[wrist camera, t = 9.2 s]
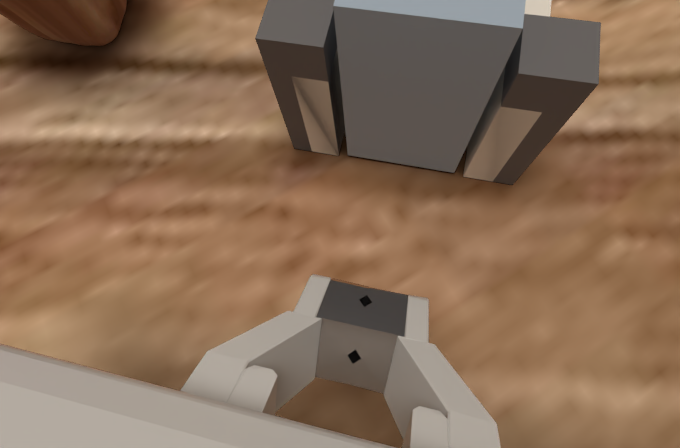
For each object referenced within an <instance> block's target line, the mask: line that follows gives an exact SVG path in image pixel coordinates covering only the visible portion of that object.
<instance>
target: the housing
mask: <svg viewBox="0 0 680 448" xmlns="http://www.w3.org/2000/svg"><path fill="white" fill-rule="evenodd" d="M334 1H335V0H268V3H267V5H266V8H265V11H264V14H263V17H262V20H261V23H260V26H259V29H258V32H257V35H256V38H255V39H256V42H257V44H258V47H259V50H260V53H261V56H262V59H263V61H264V64H265V67H266V70H267V73H268V76H269V78H270V81H271V84H272V87H273V90H274V93H275V95H276V98H277V101H278V104H279V107H280V110H281V113H282V115H283V118H284V121H285V124H286V127H287V130H288V132H289V135H290V138H291V141H292V144H293V147H294V149H300V150H306V151H312V152H318V153H324V154H330V155H336V156H339V153H340V148H341V144H342V140H343V136H344V132H345V122H344V112H343V101H342V91H341V81H340V70H339V60H338V50H337V40H336V29H335V19H334V9H333V5H334ZM550 12H551V0H526V3H525V13H524V22H523V29H522V31H521V33H520V36H519V38H518V40H517V42H516V44H515V46H514V48H513V50H512V52H511V54H510V57H509V59H508V61H507V63H506V65H505V67H504V69H503V71H502V73H501V75H500V78H499V80H498V82H497V84H496V86H495V88H494V90H493V92H492V94H491V97H490V99H489V101H488V103H487V105H486V107H485V109H484V111H483V113H482V115H481V118H480V120H479V122H478V124H477V126H476V128H475V130H474V132H473V134H472V136H471V139H470V141H469V143H468V145H467V152H466V159H465V167H464V174H463V177H468V178H474V179H480V180H486V181H492V182H498V183H504V184H510V185H513V184H514V183H515V182H516V180H517V179H518V178H519V177H520V176H521V174H522V173H523V172H524V171H525V170H526V169H527V167H528V166H529V165H530V164H531V163H532V162H533V160H534V159H535V158H536V157H537V156H538V155H539V153H540V152H541V151H542V150H543V149H544V147H545V146H546V145H547V144H548V143H549V142H550V140H551V139H552V138H553V137H554V136H555V135H556V133H557V132H558V131H559V130H560V129H561V127H562V126H563V125H564V124H565V123H566V122H567V120H568V119H569V118H570V117H571V116H572V115H573V113H574V112H575V111H576V110H577V109H578V108H579V106H580V105H581V104H582V103H583V102H584V100H585V99H586V98H587V97H588V96H589V95H590V93H591V92H592V91H593V90H594V89H595V88H596V86H597V85H598V84H599V55H600V27H601V23H600V22H591V21H583V20H574V19H565V18H557V17H550Z"/></svg>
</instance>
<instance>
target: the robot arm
mask: <svg viewBox="0 0 680 448" xmlns="http://www.w3.org/2000/svg"><path fill="white" fill-rule="evenodd" d="M315 377H318V378H322V379H327V380H331V381H336V382H341V383H345V384H349V383H350V385H353V386H357V387H360V388H364V389H368V390H371V391H375V392H379V393H382V394H384V398H385V400H386V402H387V405H388V407H389V409H390V411H391V414H392V416H393V418H394V420H395V423H396V425H397V427H398V429H399V432H400V434H401V436H402V438H403V444H402V447H401V448H501V447H500V440H499V434H498V428H497V423H496V422H495V421H494V420H493V418H492V417H491V416H490V414H489V413H488V412H487V411H486V409H485V408H484V407H483V406H482V404H481V403H480V402H479V400H478V399H477V398H476V397H475V395H474V394H473V393H472V391H471V390H470V389H469V388H468V386H467V385H466V384H465V382H464V381H463V380H462V379H461V377H460V376H459V375H458V374H457V372H456V371H455V370H454V368H453V367H452V366H451V365H450V363H449V362H448V361H447V359H446V358H445V357H444V356H443V354H442V353H441V352H440V351H439V349H438V348H437V347H436V345H435V344H431V343H429V300H428V298H424V297H418V296H413V295H405V294H400V293H395V292H390V291H385V290H380V289H375V288H371V287H368V286H364V285H360V284H355V283H351V282H347V281H343V280H338V279H334V278H332V279H331V278H330V277H325V276H321V275H316V274H312V275H311V276H310V278H309V280H308V282H307V284H306V286H305V288H304V290H303V292H302V295H301V297H300V299H299V301H298V303H297V305H296V307H295V309H294V311H293V312H291V311H286V312H284V313H282V314H280V315H278V316H276V317H274V318H272V319H270V320H268V321H266V322H264V323H262V324H260V325H258V326H257V327H255V328H253V329H251V330H249V331H247V332H245V333H243V334H241V335H239V336H237V337H235V338H233V339H231V340H229V341H227V342H225V343H223V344H221V345H219V346H217V347H215V348H213V349H211V350H209V351H207V352H206V354H205V355H204V357H203V358H202V360H201V361H200V362H199V364H198V365H197V367H196V368H195V370H194V371H193V373H192V374H191V376H190V377H189V378H188V380H187V381H186V383H185V384H184V386H183V387H182V389H181V390H180V391H179V390H175V389H171V388H167V387H164V386H160V385H156V384H152V383H148V382H145V381H141V380H137V379H133V378H129V377H125V376H122V375H118V374H114V373H110V372H106V371H103V370H99V369H95V368H91V367H87V366H84V365H80V364H76V363H72V362H68V361H65V360H61V359H57V358H53V357H49V356H46V355H42V354H38V353H34V352H30V351H27V350H23V349H19V348H15V347H11V346H8V345H4V344H0V448H396V447H392V446H389V445H385V444H381V443H377V442H373V441H370V440H366V439H362V438H358V437H354V436H350V435H347V434H343V433H339V432H335V431H331V430H328V429H324V428H320V427H316V426H312V425H308V424H305V423H301V422H297V421H293V420H289V419H286V418H282V417H278V416H275V412H276V411H277V410H279V409H280V408H281V407H282V406H283V405H285V404H286V403H287V402H288V401H289V400H290V399H292V398H293V397H294V396H295V395H296V394H298V393H299V392H300V391H301V390H302V389H303V388H305V387H306V386H307V385H308V384H309V383H310V382H312V381H313V380H314V379H315Z"/></svg>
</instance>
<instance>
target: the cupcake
mask: <svg viewBox="0 0 680 448" xmlns="http://www.w3.org/2000/svg"><path fill="white" fill-rule="evenodd" d="M126 5H127V0H0V14H2V15H3V16H5V17H6V18H8V19H9V20H11V21H12V22H14V23H15V24H17V25H19V26H21V27H22V28H24V29H26V30H27V31H29V32H31V33H33V34H35V35H37V36H39V37H41V38H44V39H47V40H54V41H60V42H65V43H74V44H78V45H82V46H85V45H97V46H102V45H106V44H108V43H110V42H111V41H113V40H114V39H115V38H116V36H117V35H118V32H119V30H120V26H121V22H122V19H123V16H124V14H125V12H126Z"/></svg>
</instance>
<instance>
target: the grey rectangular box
mask: <svg viewBox="0 0 680 448" xmlns="http://www.w3.org/2000/svg"><path fill="white" fill-rule="evenodd" d="M525 3H526V0H335V1H334V5H333V9H334V19H335V29H336V40H337V50H338V60H339V70H340V81H341V91H342V101H343V112H344V122H345V132H346V142H347V153H348V155H350V156H356V157H362V158H368V159H374V160H380V161H386V162H392V163H398V164H404V165H410V166H416V167H422V168H428V169H434V170H440V171H446V172H452V173H454V172H455V170H456V168H457V166H458V164H459V162H460V160H461V158H462V155H463V153H464V151H465V149H466V147H467V145H468V143H469V141H470V139H471V136H472V134H473V132H474V130H475V128H476V126H477V124H478V122H479V120H480V118H481V115H482V113H483V111H484V109H485V107H486V105H487V103H488V101H489V99H490V97H491V94H492V92H493V90H494V88H495V86H496V84H497V82H498V80H499V78H500V75H501V73H502V71H503V69H504V67H505V65H506V63H507V61H508V59H509V57H510V54H511V52H512V50H513V48H514V46H515V44H516V42H517V40H518V38H519V36H520V33H521V31H522V29H523V22H524V13H525Z"/></svg>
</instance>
